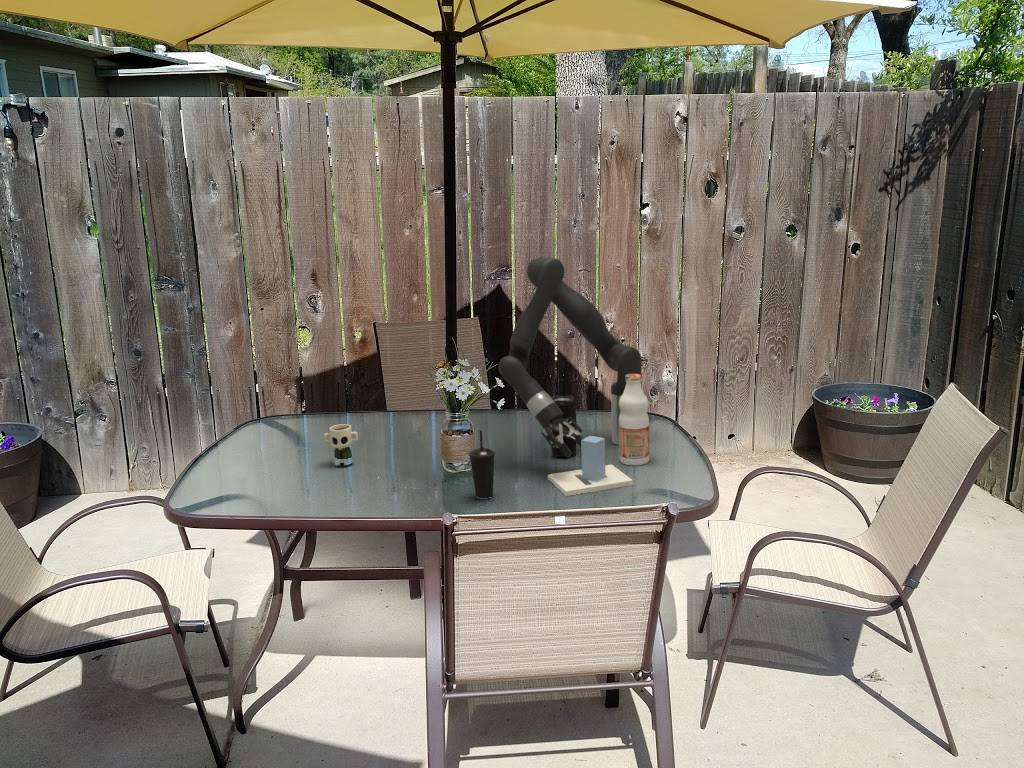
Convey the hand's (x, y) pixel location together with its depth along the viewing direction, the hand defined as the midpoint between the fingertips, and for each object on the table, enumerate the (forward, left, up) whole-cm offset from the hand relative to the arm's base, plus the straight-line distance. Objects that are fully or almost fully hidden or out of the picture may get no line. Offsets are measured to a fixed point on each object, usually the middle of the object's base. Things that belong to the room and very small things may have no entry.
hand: (577, 451), depth 242 cm
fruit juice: (-22, -7, -9) cm, 25 cm away
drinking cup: (+30, +2, -9) cm, 31 cm away
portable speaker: (-4, -22, -9) cm, 25 cm away
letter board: (-2, +4, -9) cm, 10 cm away
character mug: (+65, -45, -9) cm, 79 cm away
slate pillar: (-3, +4, -7) cm, 9 cm away
